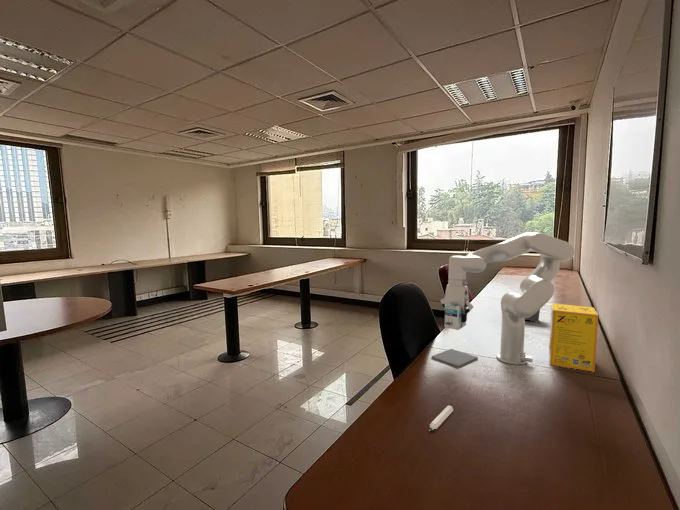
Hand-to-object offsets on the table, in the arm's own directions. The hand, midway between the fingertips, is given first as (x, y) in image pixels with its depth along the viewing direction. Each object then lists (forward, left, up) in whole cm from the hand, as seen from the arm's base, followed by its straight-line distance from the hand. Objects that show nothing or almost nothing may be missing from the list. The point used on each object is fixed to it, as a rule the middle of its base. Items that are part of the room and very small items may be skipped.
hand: (455, 320), depth 157 cm
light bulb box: (0, 0, -3) cm, 3 cm away
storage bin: (+11, -98, -19) cm, 100 cm away
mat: (0, 0, -19) cm, 19 cm away
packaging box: (-35, -38, -19) cm, 55 cm away
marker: (-27, +49, -19) cm, 59 cm away
